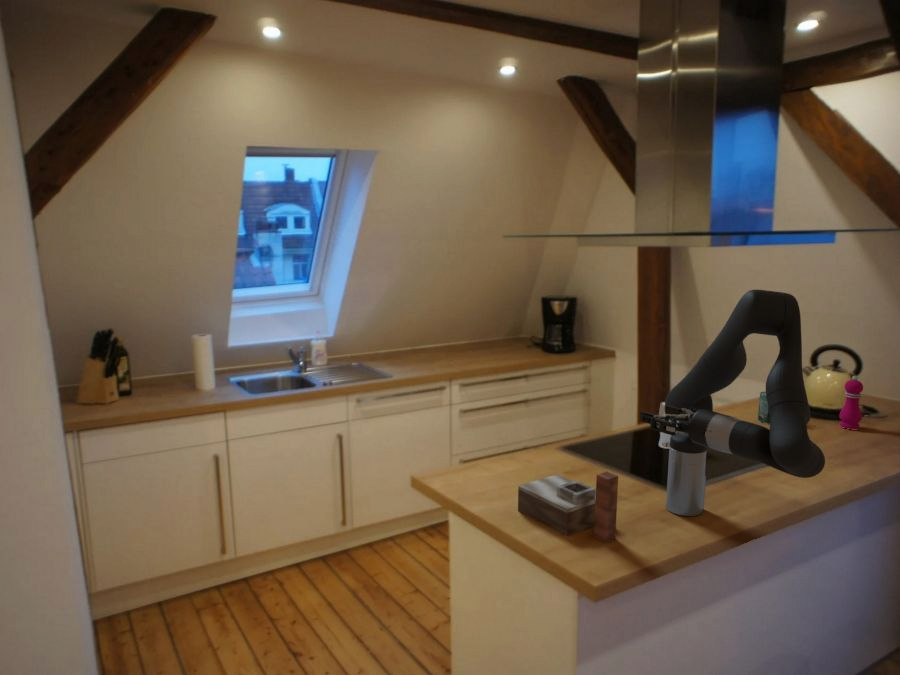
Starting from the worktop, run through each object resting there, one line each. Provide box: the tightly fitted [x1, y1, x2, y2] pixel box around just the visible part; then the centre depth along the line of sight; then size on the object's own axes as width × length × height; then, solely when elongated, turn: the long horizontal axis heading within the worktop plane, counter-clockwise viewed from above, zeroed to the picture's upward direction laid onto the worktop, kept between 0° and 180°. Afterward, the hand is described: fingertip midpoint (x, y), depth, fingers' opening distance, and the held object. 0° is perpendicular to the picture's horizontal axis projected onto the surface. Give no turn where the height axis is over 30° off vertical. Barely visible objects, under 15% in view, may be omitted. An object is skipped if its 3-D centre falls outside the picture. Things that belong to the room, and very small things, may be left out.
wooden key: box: [593, 471, 619, 543], centre depth 163 cm, size 4×4×16 cm
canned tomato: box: [757, 390, 771, 425], centre depth 260 cm, size 8×8×11 cm
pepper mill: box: [839, 375, 864, 429], centre depth 252 cm, size 7×7×20 cm
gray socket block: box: [517, 474, 596, 537], centre depth 176 cm, size 14×18×10 cm
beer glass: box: [658, 401, 677, 450], centre depth 231 cm, size 7×7×15 cm
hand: (653, 412), depth 151 cm, fingers open, 8 cm apart
